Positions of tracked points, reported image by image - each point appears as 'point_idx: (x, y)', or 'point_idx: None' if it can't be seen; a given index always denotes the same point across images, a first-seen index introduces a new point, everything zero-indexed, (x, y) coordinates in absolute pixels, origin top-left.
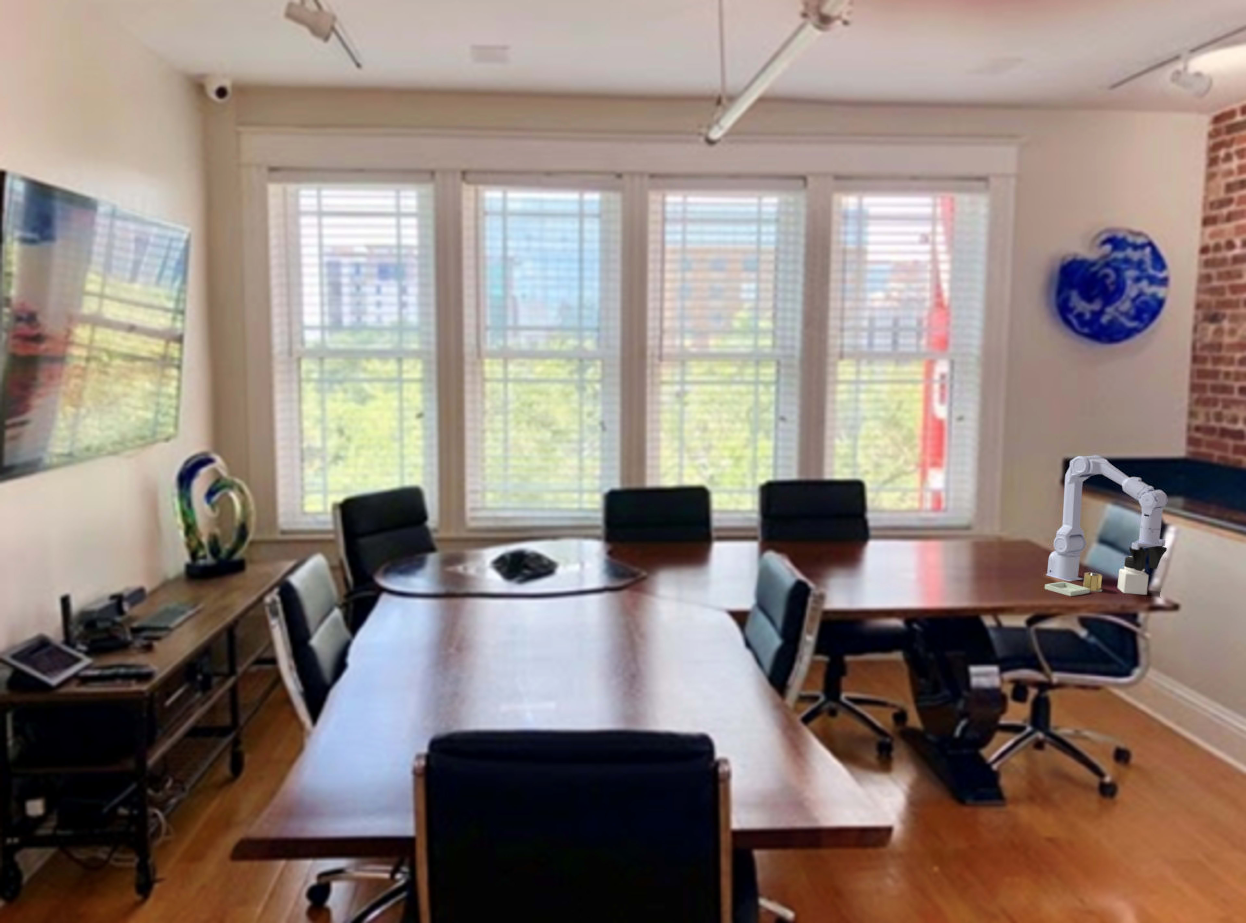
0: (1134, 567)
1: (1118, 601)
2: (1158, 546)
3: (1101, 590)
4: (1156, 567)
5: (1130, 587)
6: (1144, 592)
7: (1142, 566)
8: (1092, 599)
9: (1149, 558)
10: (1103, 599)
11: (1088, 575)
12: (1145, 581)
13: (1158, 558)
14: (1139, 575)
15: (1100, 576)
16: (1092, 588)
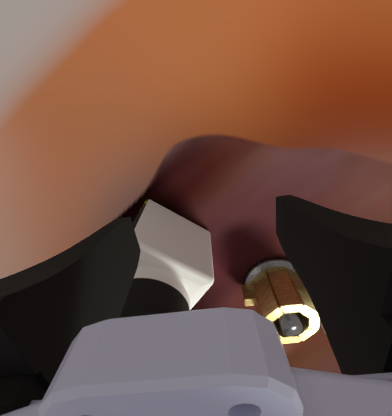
0: (177, 295)
1: (309, 174)
2: (13, 389)
3: (259, 268)
4: (121, 219)
5: (195, 236)
6: (154, 206)
7: (306, 201)
8: (371, 214)
9: (123, 300)
10: (335, 205)
11: (319, 321)
12: (146, 228)
13: (92, 253)
14: (165, 254)
15: (288, 304)
16: (296, 276)
